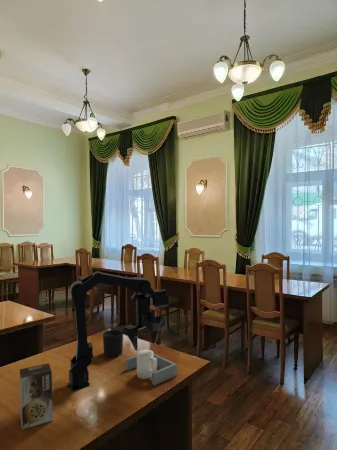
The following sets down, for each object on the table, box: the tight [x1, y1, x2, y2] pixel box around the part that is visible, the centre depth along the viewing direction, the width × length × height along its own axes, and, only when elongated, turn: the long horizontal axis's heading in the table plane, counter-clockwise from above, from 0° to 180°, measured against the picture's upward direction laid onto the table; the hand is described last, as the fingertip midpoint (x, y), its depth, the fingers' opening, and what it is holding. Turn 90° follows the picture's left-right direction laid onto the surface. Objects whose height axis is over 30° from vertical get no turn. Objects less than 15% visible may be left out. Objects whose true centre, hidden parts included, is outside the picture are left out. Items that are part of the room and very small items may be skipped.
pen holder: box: [102, 329, 124, 358], centre depth 153 cm, size 9×9×10 cm
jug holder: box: [125, 352, 178, 386], centre depth 134 cm, size 12×18×4 cm, turn 43°
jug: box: [136, 349, 158, 380], centre depth 131 cm, size 10×7×9 cm
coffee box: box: [19, 363, 54, 430], centre depth 102 cm, size 9×6×16 cm
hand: (145, 346), depth 132 cm, fingers open, 9 cm apart
